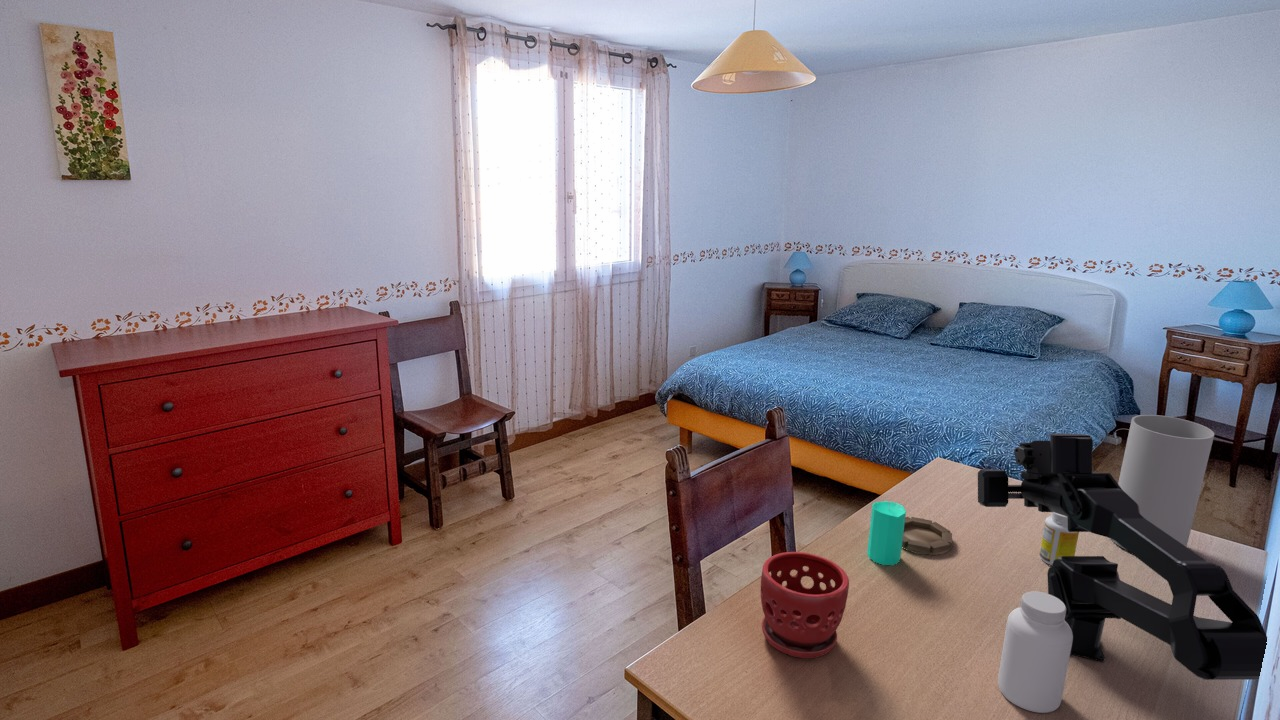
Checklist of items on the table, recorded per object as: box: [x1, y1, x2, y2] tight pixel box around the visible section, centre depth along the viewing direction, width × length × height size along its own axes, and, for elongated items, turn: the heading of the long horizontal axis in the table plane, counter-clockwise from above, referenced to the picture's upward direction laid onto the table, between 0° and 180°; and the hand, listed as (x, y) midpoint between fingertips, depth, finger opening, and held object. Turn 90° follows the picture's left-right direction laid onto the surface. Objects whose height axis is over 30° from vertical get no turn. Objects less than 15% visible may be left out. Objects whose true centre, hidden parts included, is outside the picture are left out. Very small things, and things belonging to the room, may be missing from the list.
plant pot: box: [760, 551, 850, 659], centre depth 108 cm, size 13×13×12 cm
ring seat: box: [902, 516, 953, 556], centre depth 139 cm, size 12×12×2 cm
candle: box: [866, 500, 907, 566], centre depth 131 cm, size 6×6×12 cm
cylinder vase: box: [1110, 414, 1215, 552], centre depth 134 cm, size 12×12×25 cm
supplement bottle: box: [1039, 512, 1080, 566], centre depth 130 cm, size 6×6×10 cm
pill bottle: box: [997, 590, 1073, 714], centre depth 96 cm, size 8×8×15 cm
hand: (1008, 480), depth 128 cm, fingers open, 9 cm apart
